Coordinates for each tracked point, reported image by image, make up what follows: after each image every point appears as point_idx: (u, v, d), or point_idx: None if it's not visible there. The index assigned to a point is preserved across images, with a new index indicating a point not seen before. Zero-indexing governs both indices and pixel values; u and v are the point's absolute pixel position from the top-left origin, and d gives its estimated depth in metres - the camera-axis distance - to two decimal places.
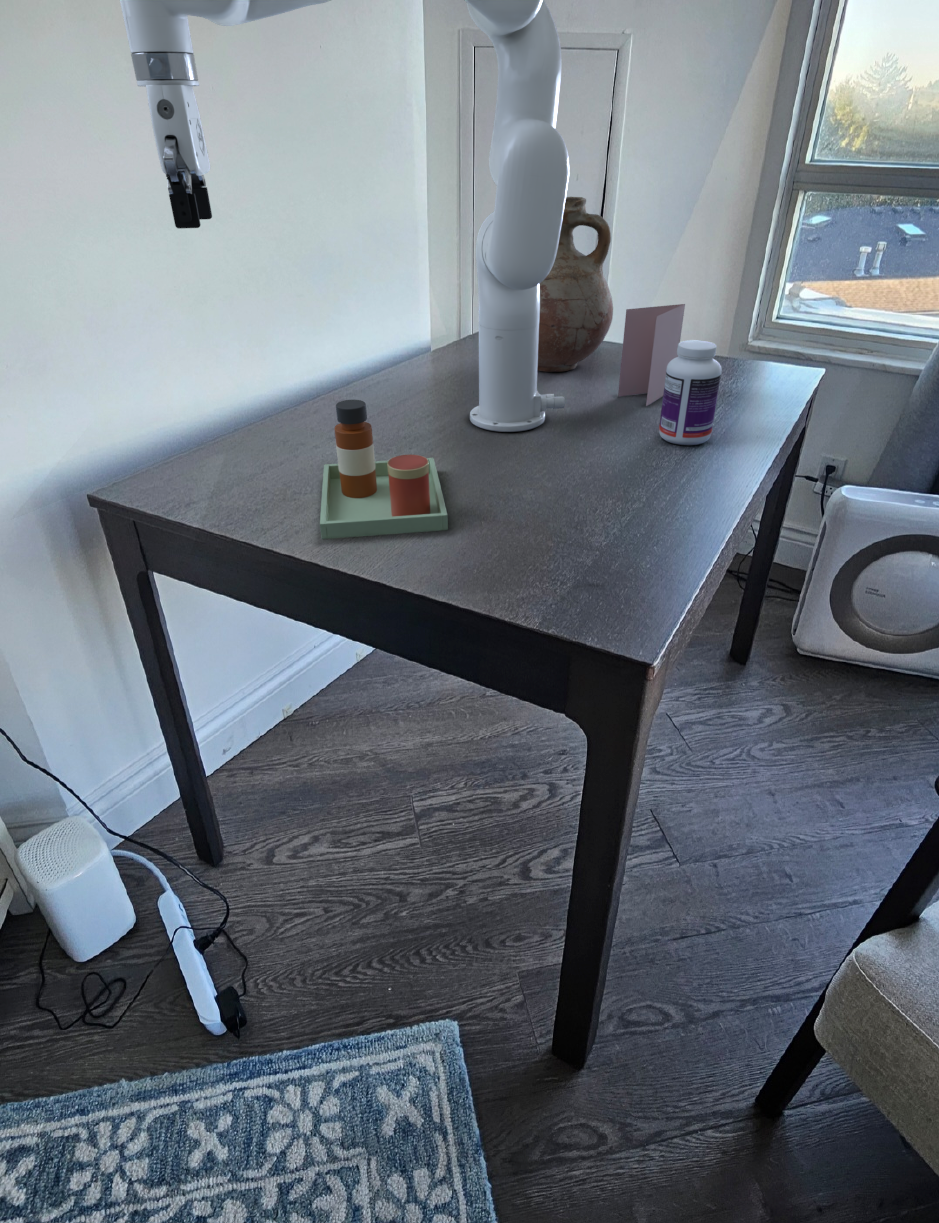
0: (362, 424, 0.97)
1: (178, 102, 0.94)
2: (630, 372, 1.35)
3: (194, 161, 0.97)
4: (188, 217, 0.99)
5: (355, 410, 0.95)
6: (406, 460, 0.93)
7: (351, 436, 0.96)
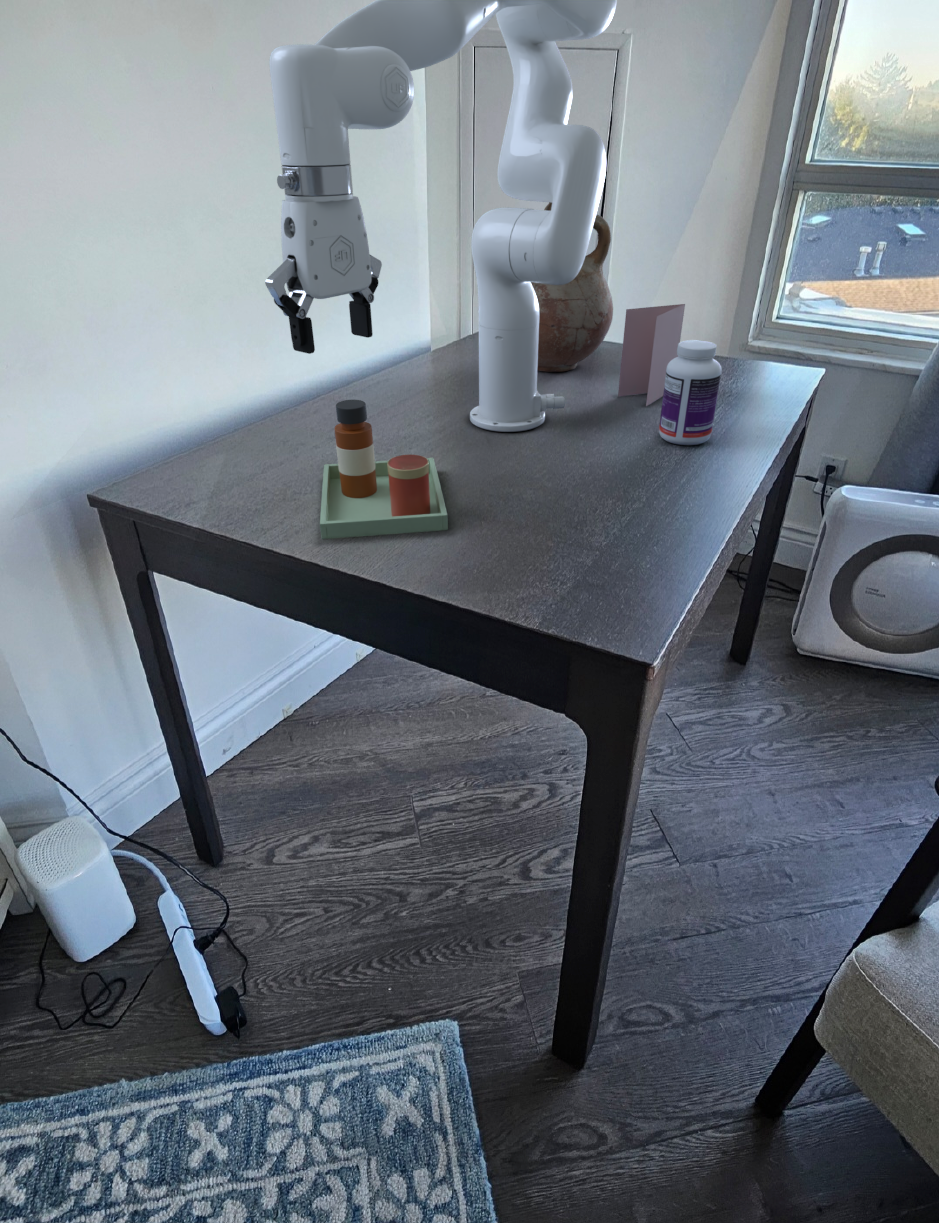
0: (362, 424, 0.97)
1: (299, 221, 0.81)
2: (630, 372, 1.35)
3: (309, 285, 0.84)
4: (298, 342, 0.88)
5: (355, 410, 0.95)
6: (406, 460, 0.93)
7: (351, 436, 0.96)
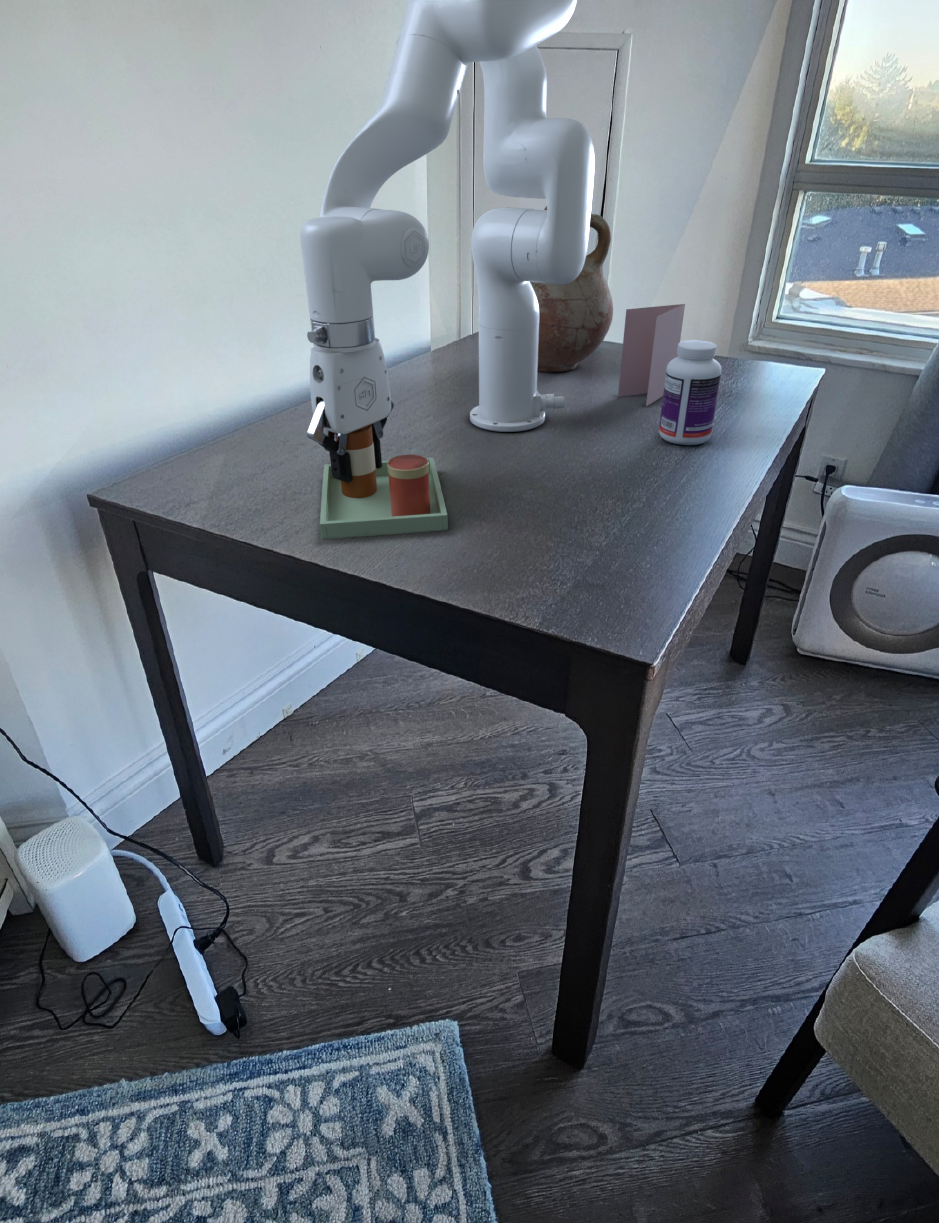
0: None
1: (327, 370, 0.89)
2: (630, 372, 1.35)
3: (336, 424, 0.92)
4: (338, 473, 0.98)
5: None
6: (406, 460, 0.93)
7: (350, 436, 0.96)
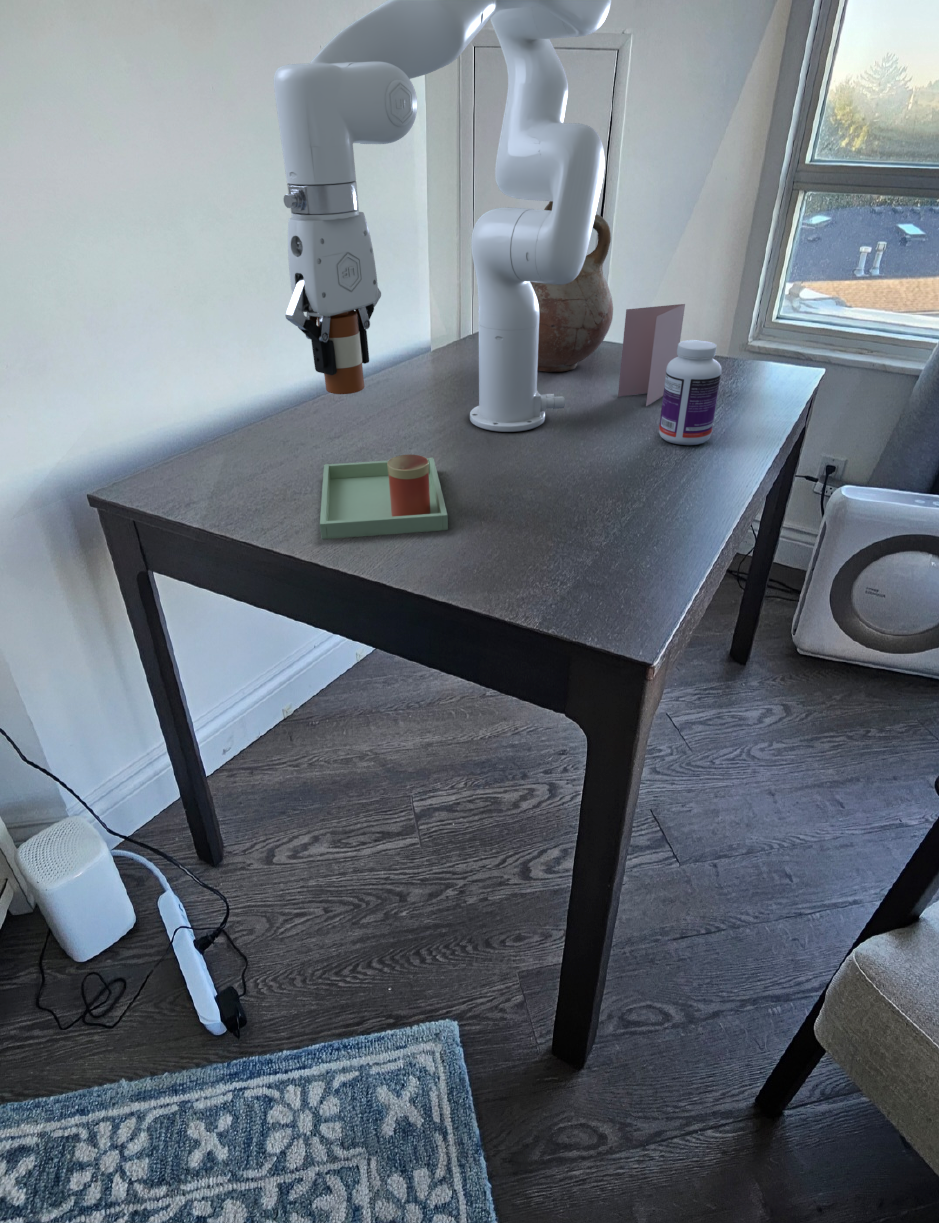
0: None
1: (306, 240, 0.81)
2: (630, 372, 1.35)
3: (317, 303, 0.84)
4: (321, 364, 0.90)
5: None
6: (406, 460, 0.93)
7: (334, 322, 0.88)
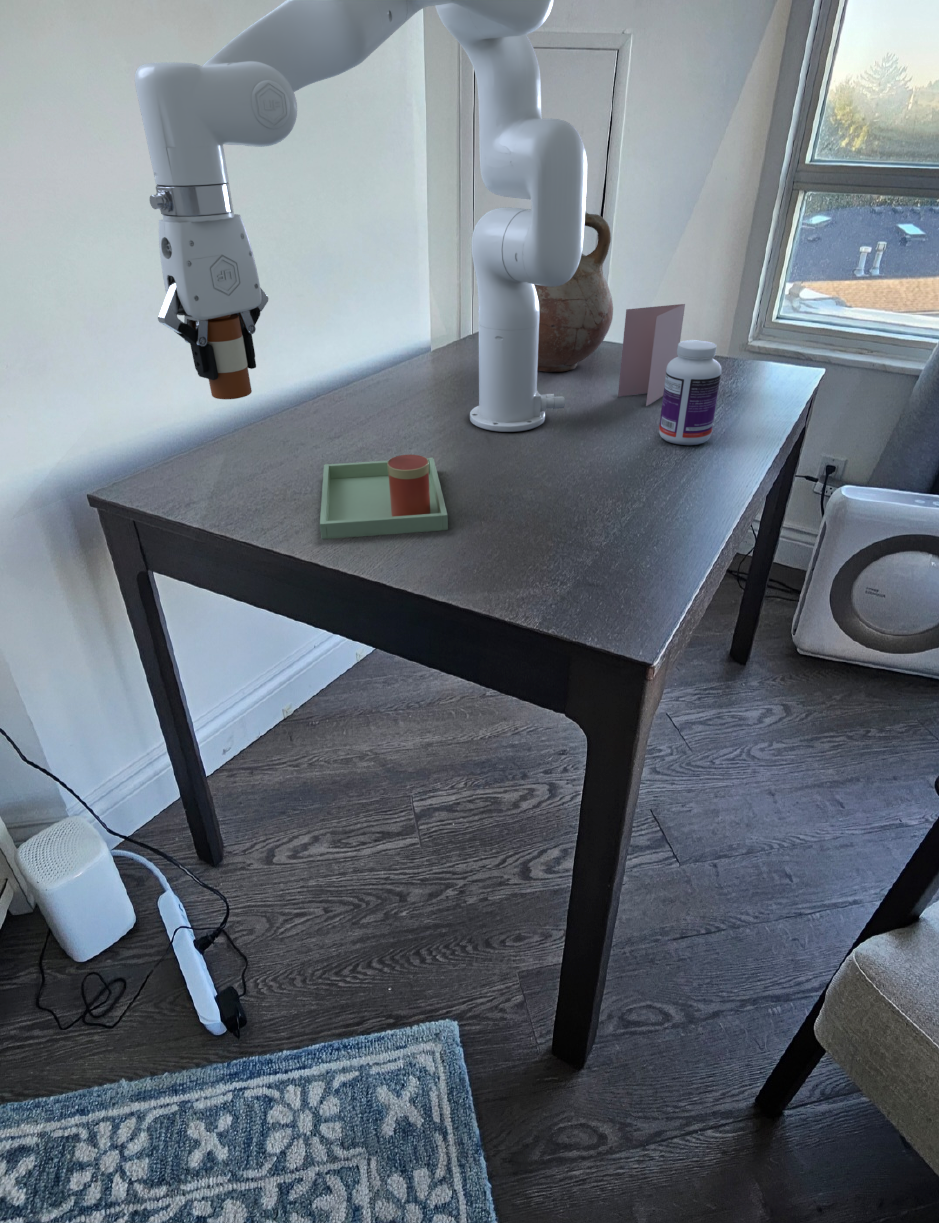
0: None
1: (175, 242, 0.80)
2: (630, 372, 1.35)
3: (190, 306, 0.83)
4: (201, 369, 0.88)
5: None
6: (406, 460, 0.93)
7: (212, 325, 0.87)
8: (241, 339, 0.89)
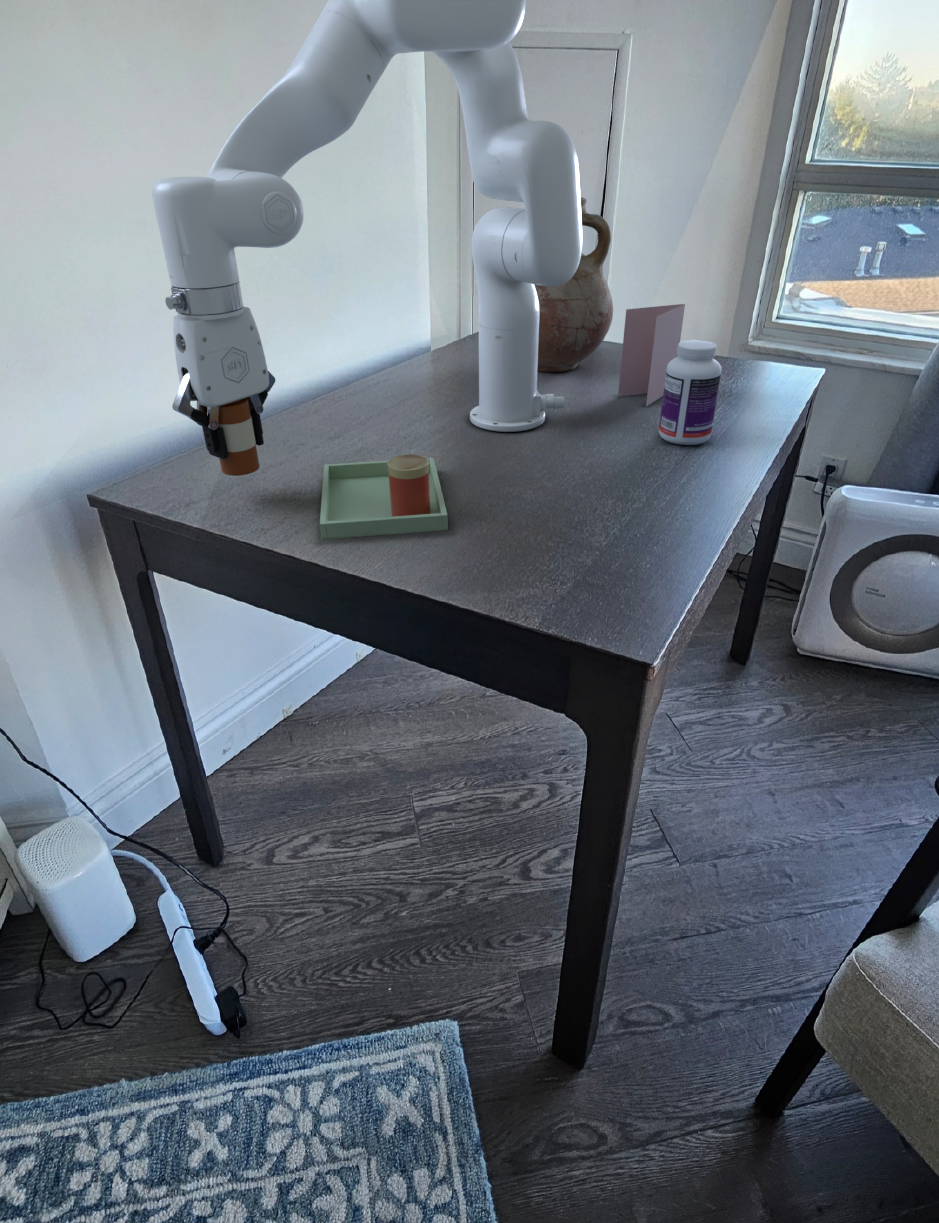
0: None
1: (189, 339, 0.85)
2: (630, 372, 1.35)
3: (202, 395, 0.88)
4: (212, 449, 0.94)
5: None
6: (406, 460, 0.93)
7: (223, 410, 0.92)
8: (250, 420, 0.95)
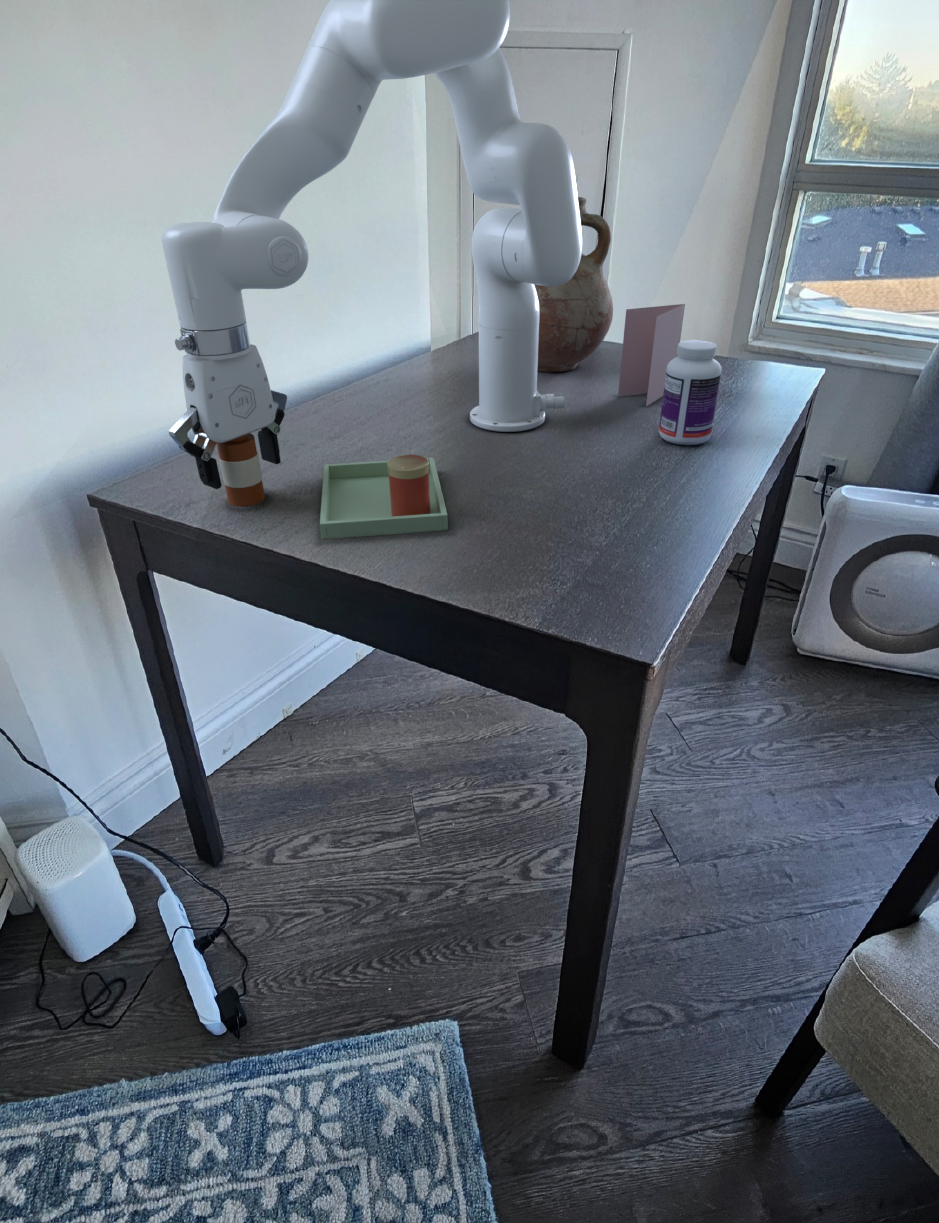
0: (243, 436, 0.96)
1: (198, 378, 0.88)
2: (630, 372, 1.35)
3: (211, 432, 0.91)
4: (205, 479, 0.94)
5: None
6: (406, 460, 0.93)
7: (230, 448, 0.95)
8: (256, 457, 0.98)
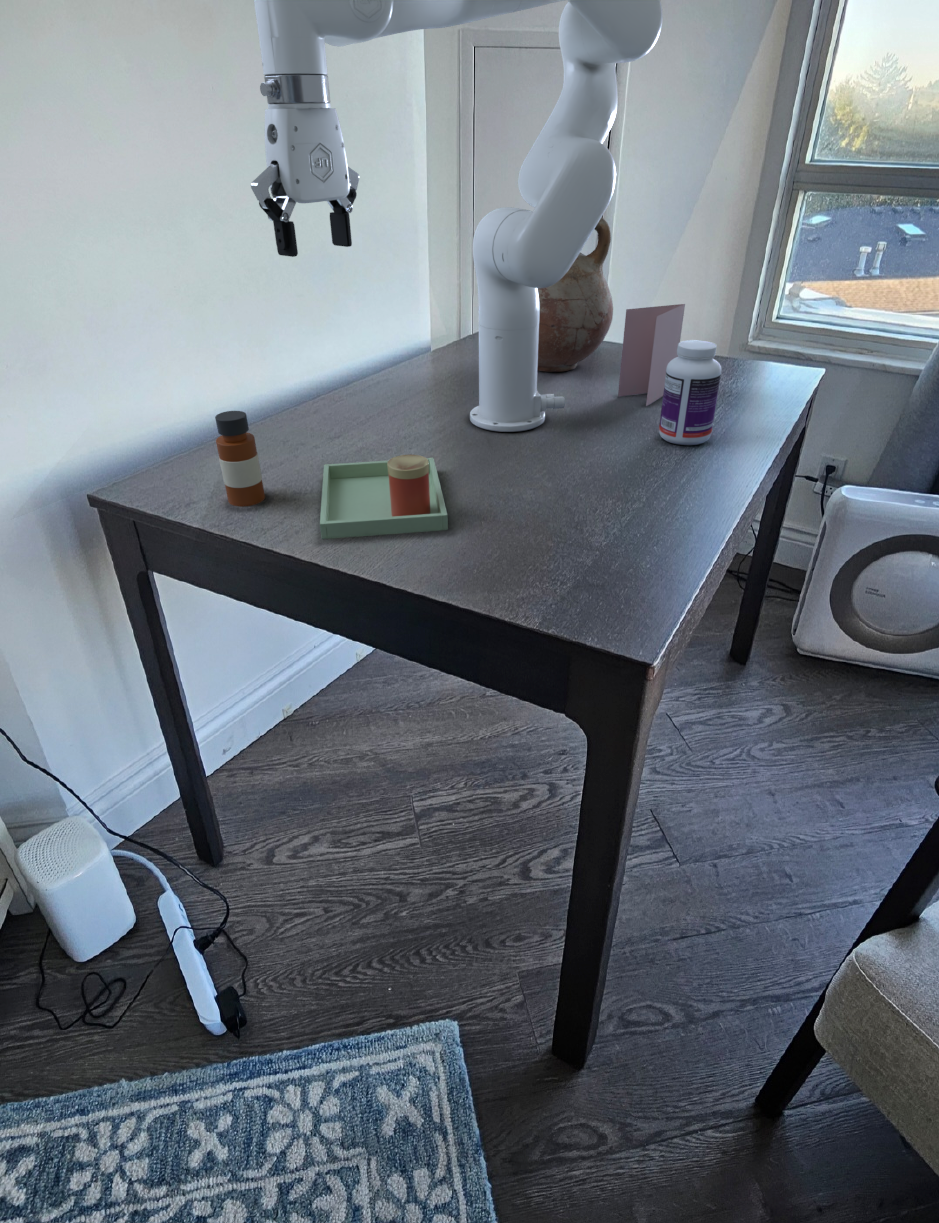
0: (243, 436, 0.96)
1: (281, 127, 0.89)
2: (630, 372, 1.35)
3: (291, 188, 0.92)
4: (282, 245, 0.95)
5: (233, 421, 0.94)
6: (406, 460, 0.93)
7: (230, 448, 0.95)
8: (256, 457, 0.98)
